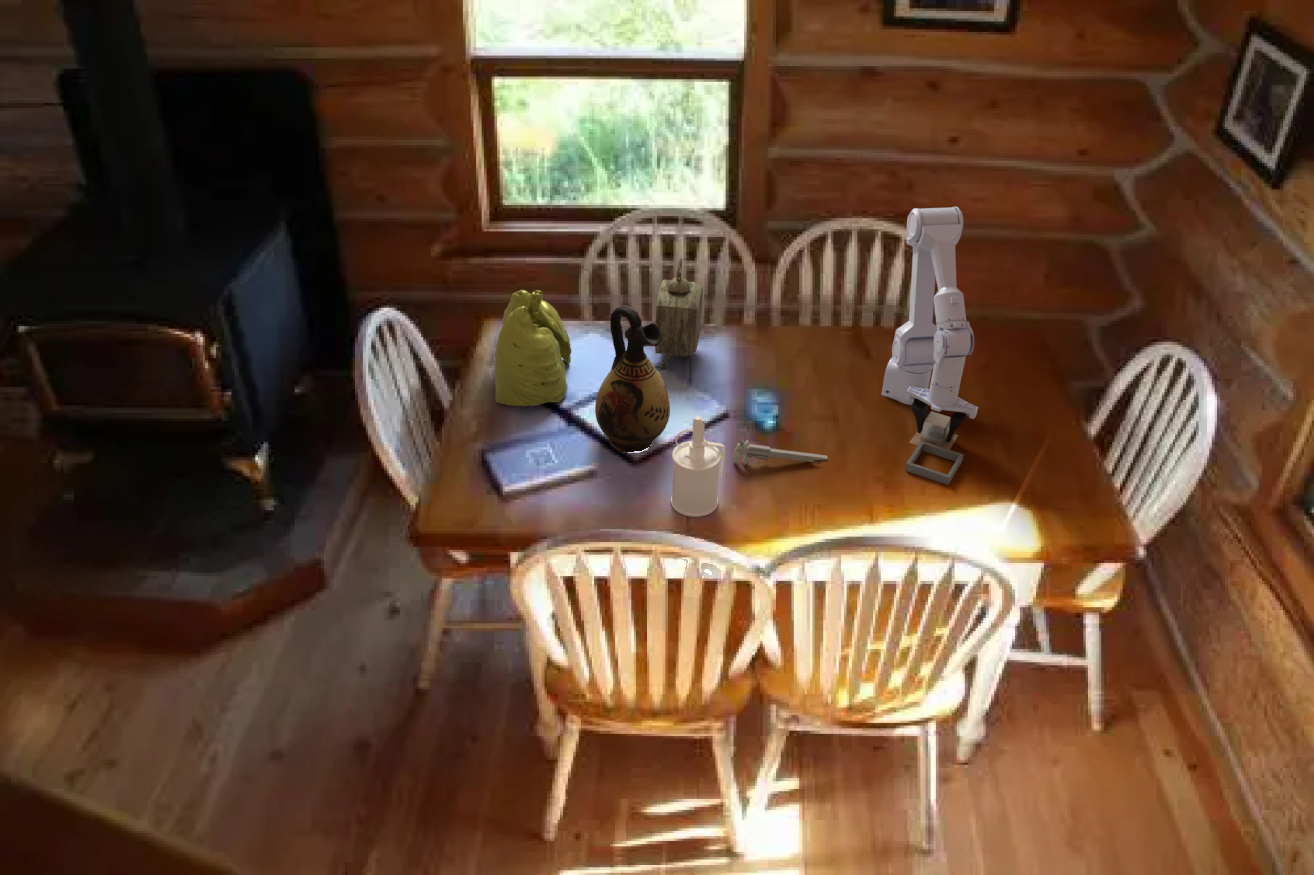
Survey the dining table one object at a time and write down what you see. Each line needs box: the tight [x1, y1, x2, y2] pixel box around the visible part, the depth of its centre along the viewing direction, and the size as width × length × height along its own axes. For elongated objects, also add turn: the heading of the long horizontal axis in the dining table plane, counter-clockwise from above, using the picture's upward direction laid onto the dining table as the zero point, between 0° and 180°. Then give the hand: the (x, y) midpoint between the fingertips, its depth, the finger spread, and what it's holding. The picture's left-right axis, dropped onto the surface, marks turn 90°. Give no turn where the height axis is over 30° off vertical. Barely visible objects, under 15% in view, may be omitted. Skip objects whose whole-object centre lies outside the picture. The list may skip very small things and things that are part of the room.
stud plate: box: [909, 431, 959, 450], centre depth 232 cm, size 8×8×3 cm
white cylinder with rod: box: [670, 415, 727, 518], centre depth 210 cm, size 10×9×20 cm
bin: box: [904, 441, 965, 486], centre depth 224 cm, size 9×9×3 cm
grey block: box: [921, 410, 951, 447], centre depth 231 cm, size 4×4×5 cm
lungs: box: [494, 289, 572, 407], centre depth 241 cm, size 25×16×24 cm, turn 177°
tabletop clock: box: [654, 257, 704, 370], centre depth 251 cm, size 14×9×25 cm, turn 172°
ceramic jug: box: [594, 304, 671, 454], centre depth 223 cm, size 17×15×30 cm
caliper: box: [732, 438, 829, 466], centre depth 224 cm, size 20×1×6 cm, turn 94°
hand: (934, 435), depth 231 cm, fingers open, 6 cm apart
